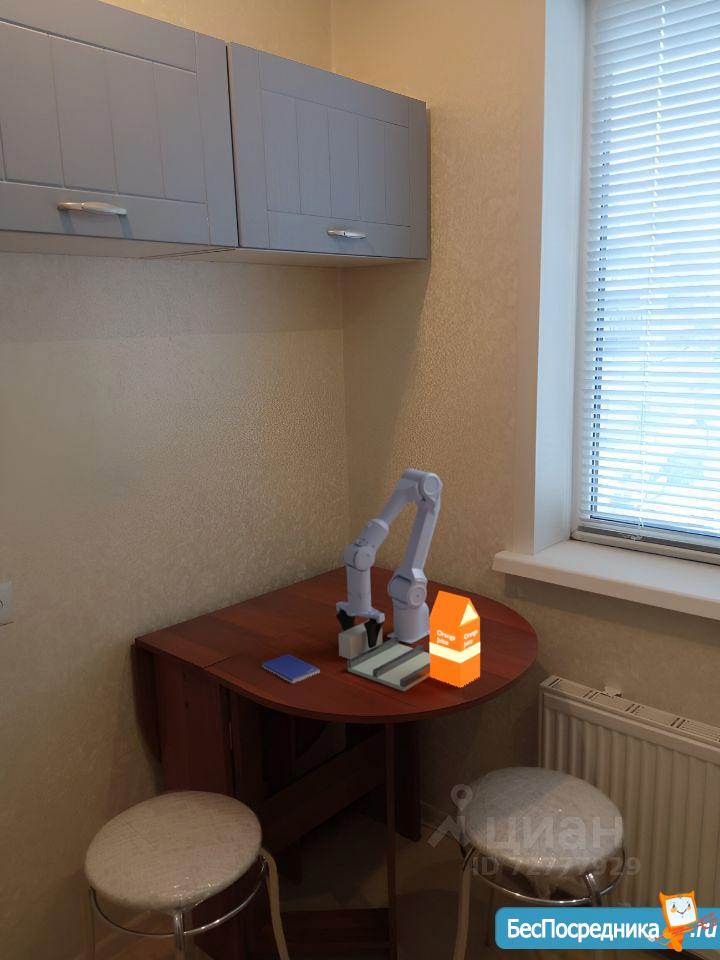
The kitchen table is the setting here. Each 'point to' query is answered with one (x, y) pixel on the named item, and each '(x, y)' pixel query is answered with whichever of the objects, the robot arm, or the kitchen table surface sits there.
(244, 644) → the kitchen table surface
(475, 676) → the orange juice
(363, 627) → the clay bar
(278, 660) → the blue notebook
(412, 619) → the robot arm
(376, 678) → the rack
